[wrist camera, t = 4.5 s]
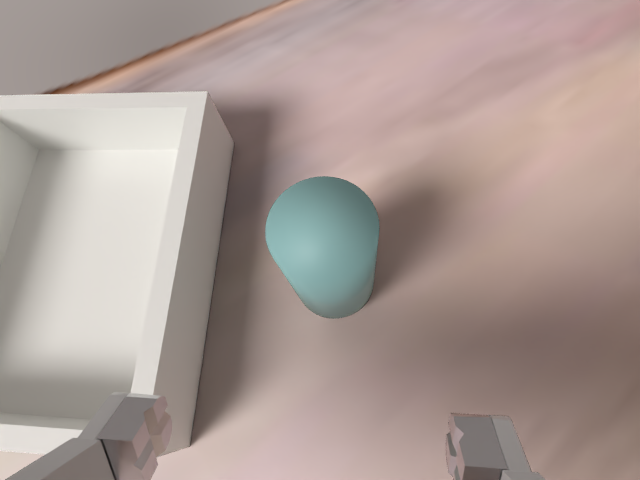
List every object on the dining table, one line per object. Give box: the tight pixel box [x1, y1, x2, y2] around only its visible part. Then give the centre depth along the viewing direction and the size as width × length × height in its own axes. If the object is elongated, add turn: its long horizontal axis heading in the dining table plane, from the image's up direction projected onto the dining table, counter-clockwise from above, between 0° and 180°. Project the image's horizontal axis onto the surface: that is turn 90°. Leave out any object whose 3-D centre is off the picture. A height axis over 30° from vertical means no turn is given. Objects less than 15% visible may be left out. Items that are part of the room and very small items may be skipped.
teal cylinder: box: [265, 176, 379, 318], centre depth 20 cm, size 4×4×8 cm
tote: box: [0, 91, 234, 457], centre depth 23 cm, size 14×18×5 cm
